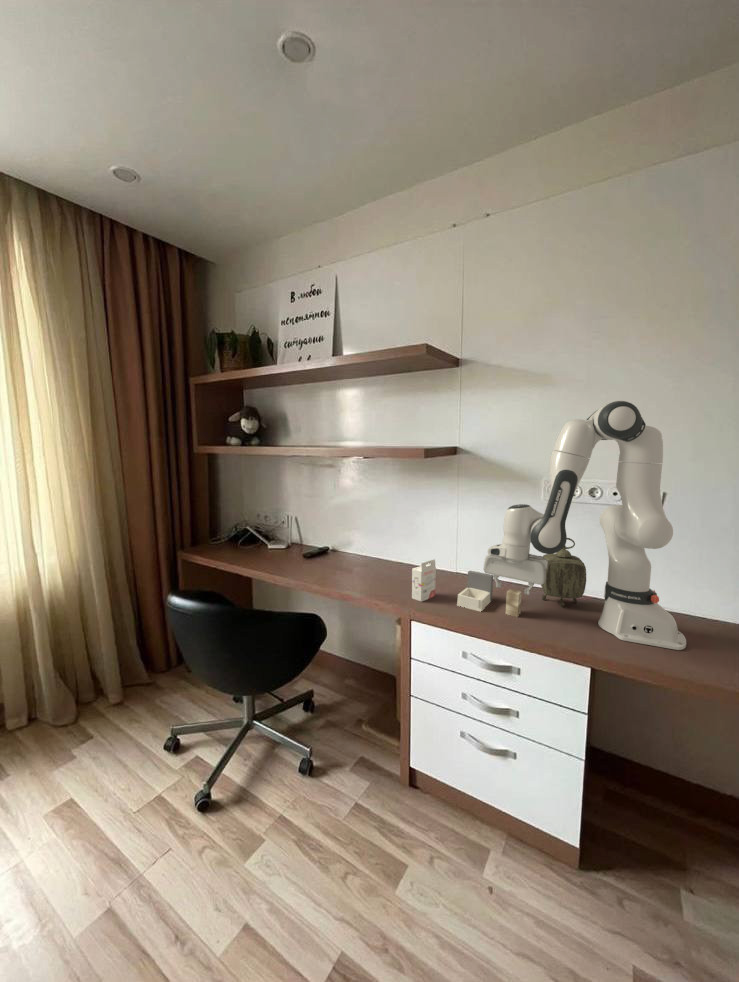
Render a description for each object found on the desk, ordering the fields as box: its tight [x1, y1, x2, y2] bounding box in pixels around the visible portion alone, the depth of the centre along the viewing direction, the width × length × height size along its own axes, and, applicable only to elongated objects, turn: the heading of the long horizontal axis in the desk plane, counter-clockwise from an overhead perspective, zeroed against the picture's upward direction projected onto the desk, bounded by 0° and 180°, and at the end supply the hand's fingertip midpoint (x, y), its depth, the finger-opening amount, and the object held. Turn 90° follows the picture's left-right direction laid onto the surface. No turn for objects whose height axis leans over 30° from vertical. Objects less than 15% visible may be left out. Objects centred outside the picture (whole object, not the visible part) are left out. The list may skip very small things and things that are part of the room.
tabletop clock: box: [540, 537, 587, 607], centre depth 143 cm, size 14×9×25 cm, turn 74°
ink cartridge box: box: [411, 558, 437, 603], centre depth 149 cm, size 9×5×15 cm, turn 133°
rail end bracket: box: [505, 588, 523, 618], centre depth 135 cm, size 4×5×8 cm
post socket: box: [456, 570, 494, 613], centre depth 144 cm, size 9×12×10 cm
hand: (512, 590), depth 135 cm, fingers open, 8 cm apart
